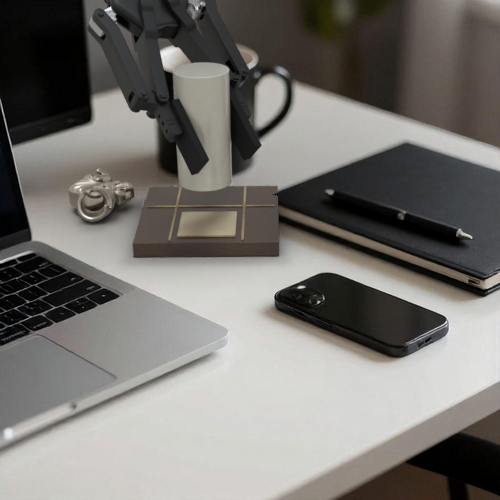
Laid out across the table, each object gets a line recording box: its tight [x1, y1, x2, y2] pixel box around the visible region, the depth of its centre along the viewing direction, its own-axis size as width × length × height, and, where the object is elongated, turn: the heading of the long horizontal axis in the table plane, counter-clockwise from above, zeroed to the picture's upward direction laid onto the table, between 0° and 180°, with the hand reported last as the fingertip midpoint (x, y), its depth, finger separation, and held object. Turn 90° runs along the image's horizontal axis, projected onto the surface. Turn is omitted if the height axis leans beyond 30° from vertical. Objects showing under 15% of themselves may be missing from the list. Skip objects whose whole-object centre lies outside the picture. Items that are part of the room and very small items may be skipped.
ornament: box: [68, 167, 135, 223], centre depth 98 cm, size 8×7×4 cm
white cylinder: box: [172, 62, 233, 191], centre depth 87 cm, size 5×5×11 cm
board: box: [132, 185, 280, 258], centre depth 95 cm, size 14×14×2 cm
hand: (226, 159), depth 85 cm, fingers closed on white cylinder, 5 cm apart
